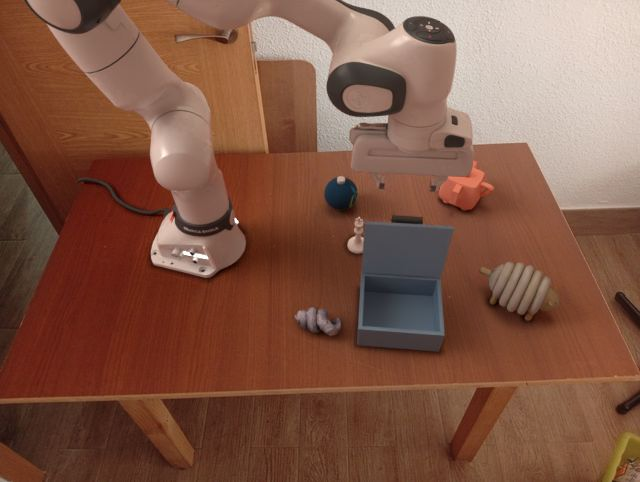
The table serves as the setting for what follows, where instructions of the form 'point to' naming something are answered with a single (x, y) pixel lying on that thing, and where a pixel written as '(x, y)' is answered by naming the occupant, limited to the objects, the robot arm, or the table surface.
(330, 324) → the seashell
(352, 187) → the christmas ornament
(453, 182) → the teapot
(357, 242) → the chess piece
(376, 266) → the lid
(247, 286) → the table surface
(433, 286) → the chest
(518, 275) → the toy sheep
